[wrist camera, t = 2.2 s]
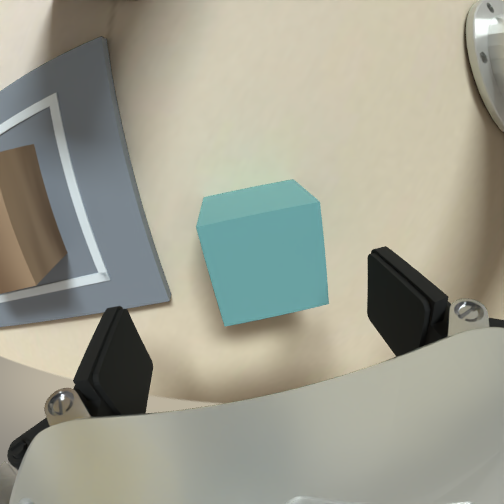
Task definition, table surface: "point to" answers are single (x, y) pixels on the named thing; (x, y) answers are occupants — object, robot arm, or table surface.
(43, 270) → the walnut block
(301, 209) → the teal block
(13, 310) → the grey mat
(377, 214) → the table surface
